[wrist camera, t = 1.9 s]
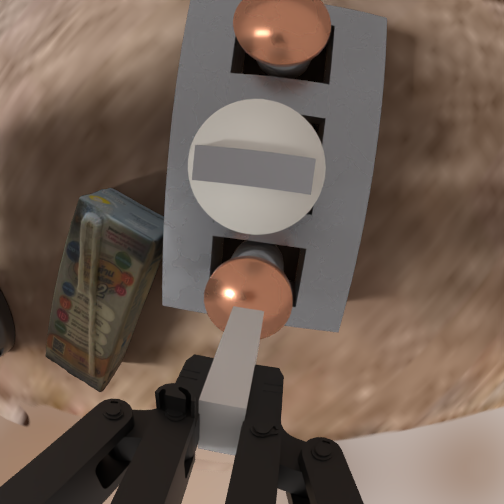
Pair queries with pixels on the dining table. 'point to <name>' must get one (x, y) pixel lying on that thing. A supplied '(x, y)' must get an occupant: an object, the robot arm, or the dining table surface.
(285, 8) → the plunger
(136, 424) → the robot arm
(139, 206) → the beverage carton
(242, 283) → the plunger
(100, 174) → the dining table surface
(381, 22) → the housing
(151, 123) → the dining table surface
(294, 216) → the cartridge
